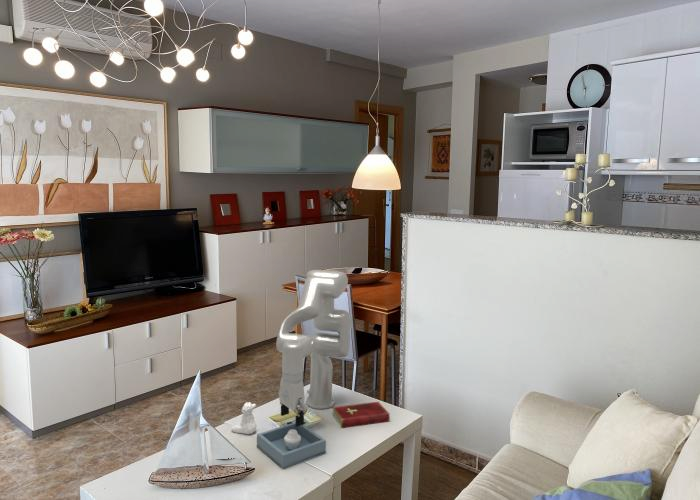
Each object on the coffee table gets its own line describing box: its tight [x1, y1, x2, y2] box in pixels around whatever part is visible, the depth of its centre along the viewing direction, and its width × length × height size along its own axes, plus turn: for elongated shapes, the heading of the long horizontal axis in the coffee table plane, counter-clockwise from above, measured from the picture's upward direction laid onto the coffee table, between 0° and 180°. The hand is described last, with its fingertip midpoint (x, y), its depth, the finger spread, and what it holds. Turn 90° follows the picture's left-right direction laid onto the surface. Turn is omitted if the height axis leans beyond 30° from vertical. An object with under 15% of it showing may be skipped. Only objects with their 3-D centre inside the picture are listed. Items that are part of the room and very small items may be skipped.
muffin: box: [284, 429, 301, 450], centre depth 195 cm, size 6×6×7 cm
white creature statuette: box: [230, 401, 258, 435], centre depth 208 cm, size 10×9×12 cm
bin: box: [256, 421, 327, 470], centre depth 195 cm, size 18×18×5 cm
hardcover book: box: [331, 401, 391, 429], centre depth 222 cm, size 12×21×4 cm, turn 110°
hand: (292, 419), depth 194 cm, fingers open, 9 cm apart
